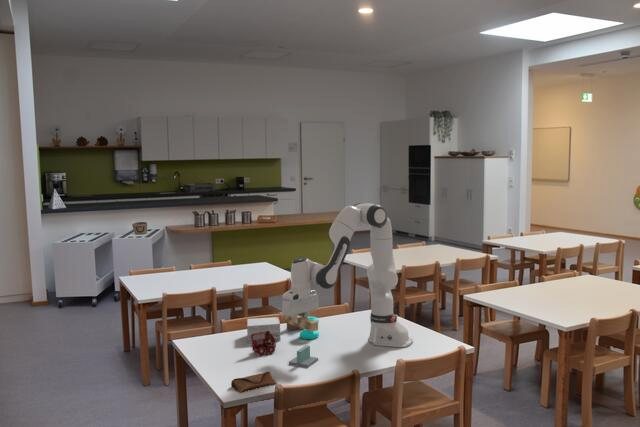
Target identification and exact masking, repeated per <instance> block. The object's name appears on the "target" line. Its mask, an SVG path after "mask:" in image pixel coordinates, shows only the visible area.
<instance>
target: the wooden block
mask: <svg viewBox="0 0 640 427" xmlns="http://www.w3.org/2000/svg"><path fill="white" fill-rule="evenodd" d="M298 315H299V316H302V317H304V315H305V313H301V314H298ZM286 330H287V331H296V330H304V329H303V328H300V327H297V326H294V325H291V324H288V323H286Z"/></svg>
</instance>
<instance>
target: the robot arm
mask: <svg viewBox="0 0 640 427" xmlns="http://www.w3.org/2000/svg"><path fill="white" fill-rule="evenodd" d="M359 225H361V226H364V227H369V230H370V236H369V237H370V239H369V240H370V256H371V260H372V263H371V264H370V265H369V266H368V267H367V269H366V275H367V280H368V287H369V292H370V300H371V302H370V307H371V309H370V310H371V312H370V316H369V320H370V331H369V336H368V341H369V342H370V343H371V344H372V345H374V346H378V347H379V346H380V347H391V348H392V347H393V348H406V347H410V345H412V344H413V342H414V338H412V337H410V336H409V331H408V329H407V328H406V327H405V326H404V325H403V324H401V322H399V321H398V315H399V314H397V313H396V314H395V313H394V297H393V294H392V289H394V288H396V286H397V284H398V283H399V277H398V273H397V270H396V264H395V260H394V259H395V258H394V254H393V252H394V251H393V250H394V249H393V246H394V245H393V230H392V229H393V228H392V222H391V219H390V218H389V217H388V214H387V211H386V209H385V207H384V206H381V205H379V204H374V203H369V202H367V203H361V202H360V203H355V204H353V205H346V206H345V207H343V208H342V210H340V212H339V213H338V215H337V216H336V217H335V218H334V220H333V222H332V224H331V226H330V228H329V231H328V235H329V238H330V240H331V241H332V243H333V245H334V248H333V249H334V250H333V252H332V253H331V256H330V258H329V259H328V260H329V261H328V262H327V263H326V264H325V265H324V264H322V263H318V262H315V261H312V260H310V259H309V258H308V257H297V258H295V259H294V260H293V261H292V262H291V268H290V278H291V279H290V280H291V284H290V285H291V286H290V289H289V290H288V291H286V292H284V293H283V294H282V295H281V296H282V299H283V300H282V303H281V313H282V316H284V317H285V316H287V317H289V316H293V318H294V319H295V323H296V324H297V323H300V322H299V321H300V320H299V319H298V318H297V316H298V314H301V313H305V315H304V317H305V318H307V317H308V316H309V315H310V312H313V311H316V310H318V309H319V307H320V302H319V297H318V291H317V290H315V289H312V290H311V284H315V285H317V286H319V287H321V288H322V289H325V290H326V289H331V288H333V287H335V285H336V284H337V282H338V279H339V274H340V271H341V269H342V266H343V264H344V262H345V259H346V256H347V255H348V252H349V250H350V246H351V240H352V237H353V235H354V233H355V232H356V229H357V227H358V226H359Z"/></svg>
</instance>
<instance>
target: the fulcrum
mask: <svg viewBox="0 0 640 427" xmlns="http://www.w3.org/2000/svg"><path fill="white" fill-rule="evenodd" d="M318 361H319V357H315V356H311V346H310V345H304V346H303V347H301V348H300V349H298V350H296V356H295V357H293V359H291V360H290V361H288V365H290V366H291V365H292V366H297V367H303V368H307V369H308V368H310V367H312V366H313V365H315V363H317V362H318Z"/></svg>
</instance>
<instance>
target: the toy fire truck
mask: <svg viewBox="0 0 640 427" xmlns="http://www.w3.org/2000/svg"><path fill="white" fill-rule="evenodd" d="M251 339H252V345H251V347H252V352H254V353H256V354H257V355H258V356H261V357H262V356H263V355H265V353H268V354H269V355H271V354H274V353H275V351H276V348H277V341H276V340H275V339H274V337H273V335H272V334H270V331H266V333H265V332H260V333H254V334H252V335H251Z"/></svg>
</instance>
